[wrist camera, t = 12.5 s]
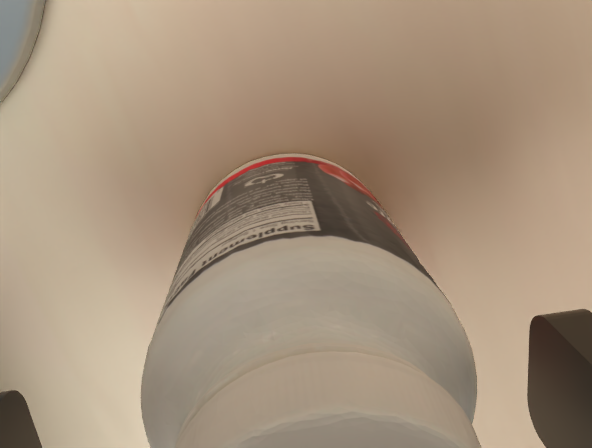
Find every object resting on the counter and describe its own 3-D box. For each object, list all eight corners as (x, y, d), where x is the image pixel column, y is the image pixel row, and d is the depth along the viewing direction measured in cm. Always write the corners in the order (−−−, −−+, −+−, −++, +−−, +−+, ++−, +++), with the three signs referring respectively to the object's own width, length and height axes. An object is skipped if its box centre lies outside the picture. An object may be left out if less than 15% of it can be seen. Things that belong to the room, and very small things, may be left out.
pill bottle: (418, 269, 16) (640, 605, 7) (260, 360, 16) (261, 779, 7) (322, 108, 14) (442, 254, 5) (151, 216, 15) (-29, 523, 6)
